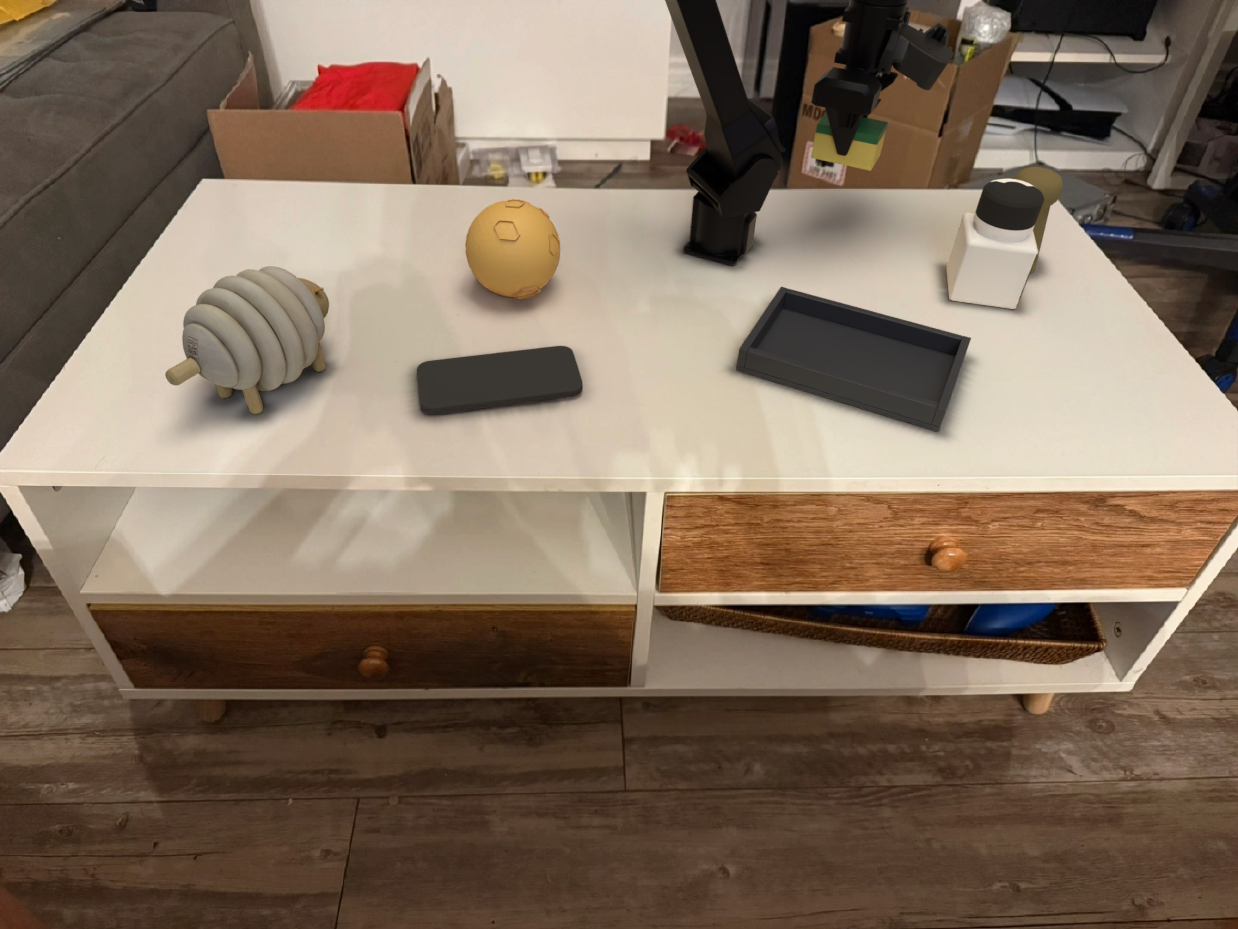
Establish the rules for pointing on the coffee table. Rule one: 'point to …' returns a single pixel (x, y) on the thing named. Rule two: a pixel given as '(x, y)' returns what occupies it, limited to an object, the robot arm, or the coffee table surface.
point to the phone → (498, 379)
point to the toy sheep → (253, 333)
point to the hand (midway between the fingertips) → (847, 146)
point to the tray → (855, 357)
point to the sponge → (862, 147)
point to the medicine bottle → (996, 245)
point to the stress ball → (513, 248)
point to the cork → (1051, 191)
